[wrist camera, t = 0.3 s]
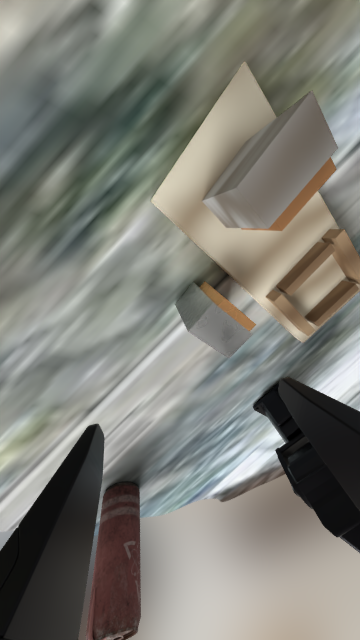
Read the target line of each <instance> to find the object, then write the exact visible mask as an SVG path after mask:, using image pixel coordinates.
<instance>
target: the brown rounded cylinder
mask: <svg viewBox="0 0 360 640" xmlns="http://www.w3.org/2000/svg"><path fill="white" fill-rule="evenodd" d="M140 600H141V598H140V492H139V488H138V487H137V485H136V484H134V483H131V482H122V483H118V484H115V485H113V486H111V487H110V488H108V489H107V491H106V492H105V494H104V496H103V502H102V510H101V518H100V526H99V534H98V542H97V550H96V558H95V567H94V574H93V582H92V590H91V598H90V606H89V614H88V622H87V630H86V638H87V640H126V639H128V638H130V637H132V636H133V635H135V634H136V633H137V632H138V625H139V621H140V617H141V607H140V606H141V604H140V602H141V601H140Z"/></svg>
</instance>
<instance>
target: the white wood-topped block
mask: <svg viewBox="0 0 360 640" xmlns="http://www.w3.org/2000/svg"><path fill="white" fill-rule="evenodd" d="M175 305H176V307H177V309H178V311H179V314H180V316H181V318H182V320H183V322H184V324H185V326H186V328H187V330H188V332H189V333H191V334H193V335H194V336H196V337H197V338H199V339H200V340H202V341H203V342H205V343H206V344H208V345H209V346H211V347H212V348H214V349H215V350H217V351H218V352H220V353H221V354H223V355H224V356H226V357H227V358H230V357H231V356H232V355H233V354H234V353H235V352H236V351H237V350H238V349H239V348H240V347H241V346H242V345H243V344H244V343H245V342H246V341H247V340H248V339H249V338H250V337H251V336H252V335H253V334H252V333H251V332H250V330H251V329H252V328H253V327H254V326H255V325H256V324H255V323H254V322H253V321H251V320H250V319H249V318H248V317H247V316H245V315H244V314H243V313H242V312H241V311H240V310H238V309H237V308H236V307H235V306H234V305H233V304H231V303H230V302H229V301H228V300H227V299H226V298H224V297H223V296H222V295H221V294H220V293H218V292H217V291H216V290H215V289H213V288H212V287H211V286H210V285H209V284H207V283H206V282H205V281H204V283H203V284H202V285H201V286H200V287H199V286H197V285H196V284H195V283H194V282H193V283H192V284H191V285H190V287H189V288H188V289H187V290H186V291H185V293H184V294H183V295H182V296H181V298H180V299H179V300H178V301H177V302H176V304H175Z"/></svg>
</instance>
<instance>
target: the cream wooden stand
mask: <svg viewBox="0 0 360 640" xmlns="http://www.w3.org/2000/svg"><path fill="white" fill-rule="evenodd" d="M337 149H338V147H337V144H336V142H335V140H334V138H333V136H332V133H331V131H330V129H329V127H328V124H327V122H326V120H325V118H324V116H323V113H322V111H321V109H320V107H319V105H318V102H317V100H316V98H315V96H314V94H313V91H310V92H309V93H308V94H306V95H305V96H304V97H303V98H301V99H300V100H299V101H297V102H296V103H295V104H294V105H292V106H291V107H290V108H288V109H287V110H286V111H285V112H283V113H282V114H281V115H279V116H278V117H276V115H275V113H274V111H273V110H272V108H271V106H270V104H269V103H268V101H267V99H266V97H265V95H264V94H263V92H262V90H261V88H260V87H259V85H258V83H257V81H256V79H255V78H254V76H253V74H252V72H251V71H250V69H249V67H248V65H247V63H246V62H245V61H244V62H243V63H242V65H241V66H240V68H239V69H238V71H237V72H236V74H235V75H234V77H233V78H232V80H231V81H230V83H229V84H228V86H227V87H226V89H225V90H224V92H223V93H222V95H221V96H220V98H219V99H218V101H217V102H216V104H215V105H214V107H213V108H212V110H211V111H210V113H209V114H208V116H207V117H206V119H205V120H204V122H203V123H202V125H201V126H200V128H199V129H198V131H197V132H196V133H195V135H194V136H193V138H192V139H191V141H190V142H189V144H188V145H187V147H186V148H185V150H184V151H183V153H182V154H181V156H180V157H179V159H178V160H177V162H176V163H175V165H174V166H173V168H172V169H171V171H170V172H169V174H168V175H167V177H166V178H165V180H164V181H163V183H162V184H161V186H160V187H159V189H158V190H157V192H156V193H155V195H154V196H153V198H152V199H151V202H152V203H153V204H154V205H155V206H156V207H157V208H158V209H159V210H161V211H162V212H163V213H164V214H165V215H166V216H167V217H168V218H169V219H170V220H171V221H172V222H173V223H174V224H175V225H176V226H177V227H179V228H180V229H181V230H182V231H183V232H184V233H185V234H186V235H187V236H188V237H189V238H190V239H191V240H192V241H193V242H194V243H195V244H197V245H198V246H199V247H200V248H201V249H202V250H203V251H204V252H205V253H206V254H207V255H208V256H209V257H210V258H211V259H212V260H213V261H215V262H216V263H217V264H218V265H219V266H220V267H221V268H222V269H223V270H224V271H225V272H226V273H227V274H228V275H229V276H230V277H231V278H233V279H234V280H235V281H236V282H237V283H238V284H239V285H240V286H241V287H242V288H243V289H244V290H245V291H246V292H247V293H248V294H249V295H251V296H252V297H253V298H254V299H255V300H256V301H257V302H258V303H259V304H260V305H261V306H262V307H263V308H264V309H265V310H266V311H267V312H269V313H270V314H271V315H272V316H273V317H274V318H275V319H276V320H277V321H278V322H279V323H280V324H281V325H282V326H283V327H284V328H285V329H287V330H288V331H289V332H290V333H291V334H292V335H293V336H294V337H295V338H296V339H298V340H299V341H301V342H302V343H304V342H305V341H306V340H307V339H308V338H309V337H311V336H312V335H313V334H314V333H315V332H316V331H317V330H318V329H319V328H320V327H321V326H322V325H323V324H325V323H326V322H327V321H328V320H329V319H330V318H331V317H332V316H333V315H334V314H335V313H336V312H338V311H339V310H340V309H341V308H342V307H343V306H344V305H345V304H346V303H347V302H348V301H349V300H351V299H352V298H353V297H354V296H355V295H356V294H357V293H358V292H359V291H360V257H359V255H358V253H357V251H356V250H355V248H354V246H353V244H352V242H351V240H350V239H349V237H348V235H347V233H346V231H345V229H339V227H338V225H337V224H336V222H335V220H334V218H333V216H332V215H331V213H330V211H329V209H328V208H327V206H326V204H325V202H324V200H323V199H322V197H321V195H320V193H319V192H318V190H319V189H320V188H321V186H322V185H323V184H324V183H325V182H326V181H327V180H328V179H329V177H330V176H331V175H332V174H333V173H334V172H335V171H336V167H335V165H334V163H333V161H332V159H331V156H332V154H333V153H334V152H335V151H336V150H337Z"/></svg>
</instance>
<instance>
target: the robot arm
mask: <svg viewBox="0 0 360 640" xmlns="http://www.w3.org/2000/svg"><path fill="white" fill-rule="evenodd" d="M253 408H254V410H255V411H257V412H259V413H261V414H263V415H265V416H267V417H268V418H269V420H270V421H271V423H272V424H273V425H274V427H275V428H276V430H277V431H278V433H279V434H280V436H281V437H282V439H283V440H284V441H285V443H286V444H284V445H283V446H281V447H280V448H277V449H276V450H275V451H276V453H277V455H278V459H279V461H280V463H281V465H282V467H283V469H284V471H285V473H286V475H287V477H288V479H289V481H290V483H291V486H292V489H293V491H294V493H295V494H296V495H297V496H299V497H301V498H302V499H303V501H304V502H305V503H306V504H307V505H308V506H309V507H310V508H311V509H314V511H315V512H316V514H317V516H318V517H319V519H320V521H321V522H322V524H323V526H324V527H325V528H326V529H328V530H329V531H330V532H331V533H332V534H333V535H334V536H336V537H340V538H341V539H343V540H344V541H345V542H346V543H348V544H349V545H350V546H352V547H353V548H354V549H355V550H357V551H358V552H359V553H360V411H358V410H356V409H354V408H351V407H349V406H347V405H345V404H343V403H341V402H339V401H337V400H335V399H333V398H331V397H329V396H327V395H325V394H323V393H321V392H319V391H317V390H315V389H313V388H310V387H308V386H306V385H304V384H302V383H300V382H298V381H296V380H294V379H292V378H290V377H285V378H281V379H280V382H279V383H278V384H277V385H276V386H275V387H274V388H273V389H272V390H271V391H269V392H268V393H267V394H266V395H265V396H264V397H263V398H262V399H261V400H259V401H258V402H257V403H256V404H255V405H254V406H253ZM103 457H104V434H103V432H102V430H101V428H100V426H99V424H93V425H89V426H88V427H87V428H86V430H85V431H84V433H83V434H82V435H81V437H80V438H79V440H78V441H77V443H76V444H75V445H74V447H73V448H72V450H71V451H70V453H69V454H68V455H67V457H66V458H65V460H64V461H63V463H62V464H61V465H60V467H59V468H58V470H57V471H56V473H55V474H54V475H53V477H52V478H51V480H50V481H49V483H48V484H47V485H46V487H45V488H44V490H43V491H42V493H41V494H40V495H39V497H38V498H37V500H36V501H35V503H34V504H33V505H32V507H31V508H30V510H29V511H28V512H27V514H26V515H25V517H24V518H23V520H22V521H21V522H20V524H19V526H18V528H16V529H15V531H14V532H13V534H12V535H11V537H10V538H9V540H8V541H7V542H6V544H5V545H4V546H3V548H2V549H1V551H0V640H78V637H79V631H80V623H81V617H82V611H83V603H84V597H85V591H86V584H87V577H88V571H89V564H90V557H91V551H92V544H93V537H94V531H95V524H96V517H97V511H98V504H99V497H100V491H101V484H102V475H103Z"/></svg>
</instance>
